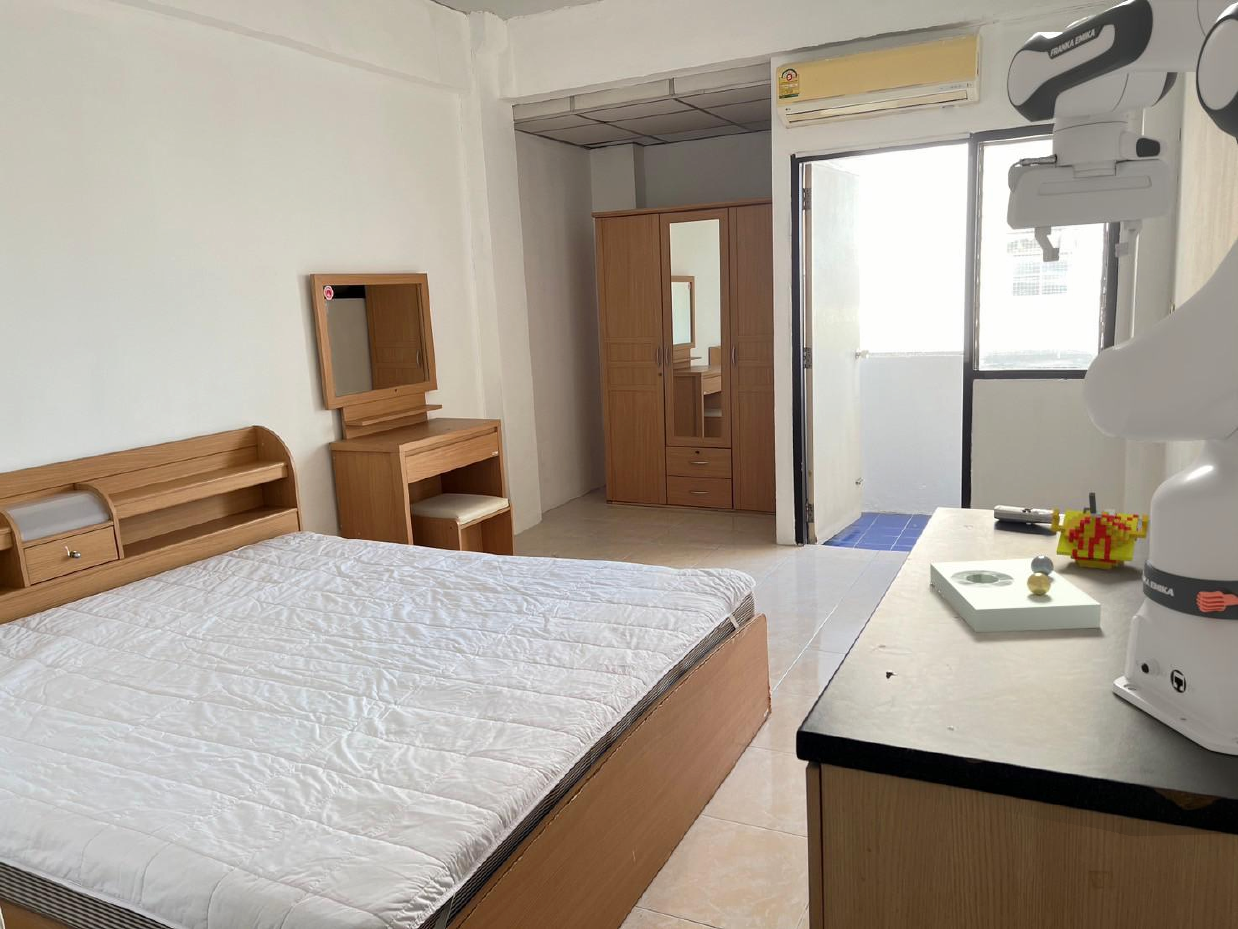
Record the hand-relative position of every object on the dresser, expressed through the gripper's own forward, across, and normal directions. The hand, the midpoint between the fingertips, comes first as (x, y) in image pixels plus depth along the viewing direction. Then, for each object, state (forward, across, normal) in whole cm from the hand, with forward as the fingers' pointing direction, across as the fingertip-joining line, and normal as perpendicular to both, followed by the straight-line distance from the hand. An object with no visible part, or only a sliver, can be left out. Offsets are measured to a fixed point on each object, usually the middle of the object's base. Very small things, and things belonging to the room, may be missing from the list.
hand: (1087, 259), depth 122 cm
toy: (+48, +10, +17) cm, 52 cm away
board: (+48, -10, 0) cm, 49 cm away
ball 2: (+43, -8, -6) cm, 44 cm away
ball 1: (+43, -4, +2) cm, 44 cm away
